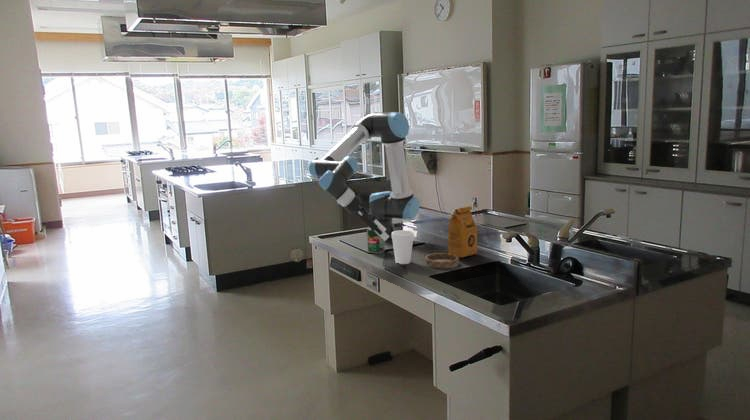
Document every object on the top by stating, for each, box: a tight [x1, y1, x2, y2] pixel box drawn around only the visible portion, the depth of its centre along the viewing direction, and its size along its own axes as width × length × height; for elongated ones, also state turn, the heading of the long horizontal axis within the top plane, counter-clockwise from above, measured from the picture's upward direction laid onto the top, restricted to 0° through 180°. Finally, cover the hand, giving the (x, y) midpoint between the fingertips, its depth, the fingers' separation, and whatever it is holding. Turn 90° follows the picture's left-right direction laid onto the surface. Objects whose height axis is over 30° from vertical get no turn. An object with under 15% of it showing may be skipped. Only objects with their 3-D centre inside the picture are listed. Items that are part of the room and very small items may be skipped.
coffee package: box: [447, 205, 478, 258], centre depth 239 cm, size 10×12×22 cm
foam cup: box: [391, 229, 415, 265], centre depth 231 cm, size 10×9×13 cm
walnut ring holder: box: [424, 252, 460, 270], centre depth 228 cm, size 14×14×3 cm
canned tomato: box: [366, 226, 385, 254], centre depth 250 cm, size 8×8×11 cm
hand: (385, 235), depth 229 cm, fingers open, 13 cm apart
